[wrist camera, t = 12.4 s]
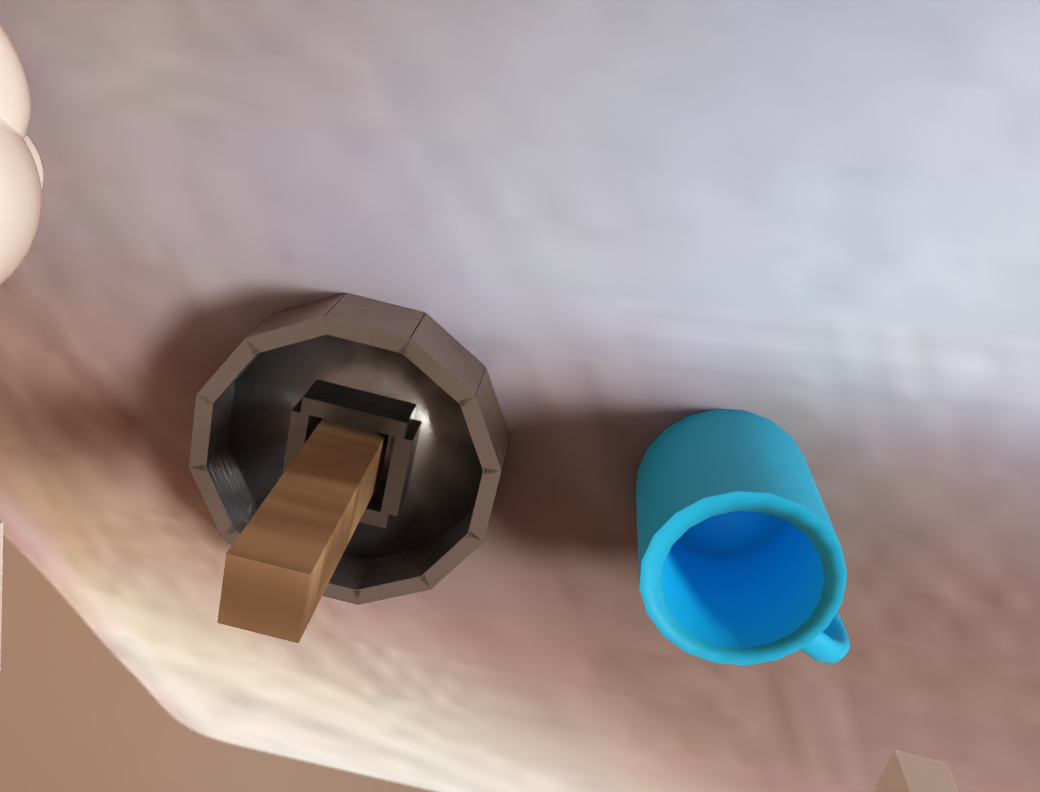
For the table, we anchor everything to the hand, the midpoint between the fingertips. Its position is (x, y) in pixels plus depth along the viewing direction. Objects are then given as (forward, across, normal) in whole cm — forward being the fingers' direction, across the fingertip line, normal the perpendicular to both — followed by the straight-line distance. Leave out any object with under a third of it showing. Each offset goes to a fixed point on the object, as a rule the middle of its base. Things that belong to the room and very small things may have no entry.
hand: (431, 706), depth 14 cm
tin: (+30, -7, -12) cm, 33 cm away
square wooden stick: (+29, -7, -12) cm, 33 cm away
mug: (+31, +12, -11) cm, 35 cm away
